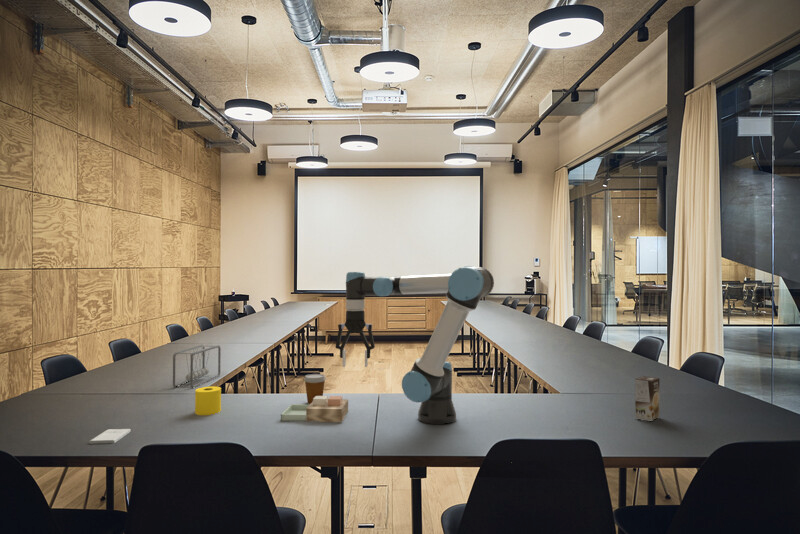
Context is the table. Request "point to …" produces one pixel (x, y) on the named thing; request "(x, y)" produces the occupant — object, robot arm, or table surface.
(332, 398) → the terracotta tile
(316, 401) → the cream tile
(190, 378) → the newton's cradle
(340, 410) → the tan wooden flat block
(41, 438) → the table surface
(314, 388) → the disposable coffee cup
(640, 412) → the coffee box
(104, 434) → the external hard drive
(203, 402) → the yellow toilet paper roll
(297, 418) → the tray
